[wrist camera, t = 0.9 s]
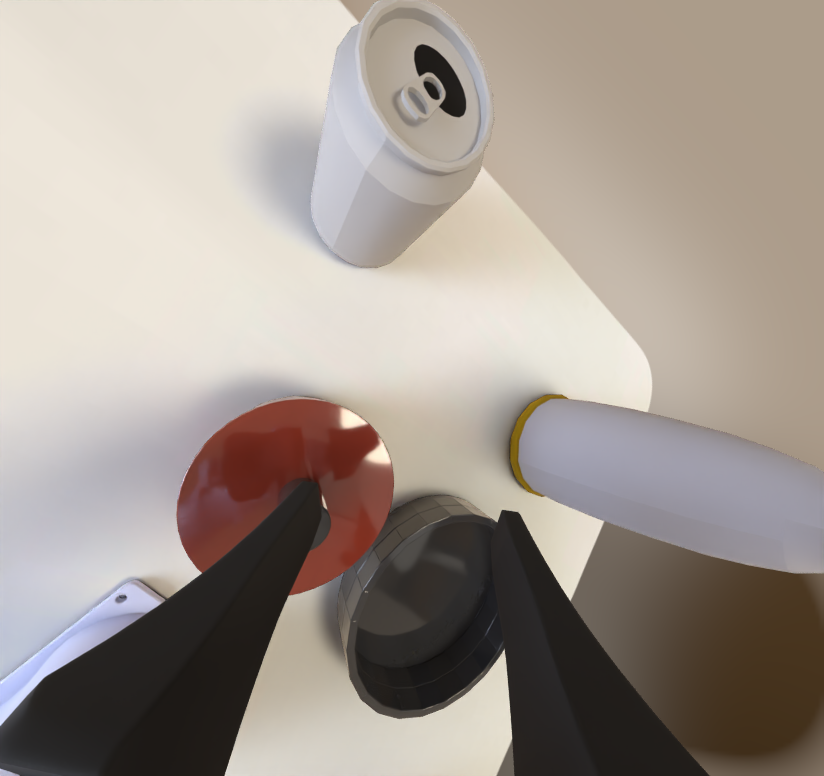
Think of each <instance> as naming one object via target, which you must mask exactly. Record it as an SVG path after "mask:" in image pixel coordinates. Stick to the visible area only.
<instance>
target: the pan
mask: <svg viewBox="0 0 824 776" xmlns="http://www.w3.org/2000/svg"><path fill="white" fill-rule="evenodd" d="M496 525H497V522H496V521H494V520H493V519H491V518H490V517H489V516H487V515H486V514H485V513H483V512H482V511H480V510H479V509H478V508H476V507H475V506H474V505H472V504H471V503H469V502H467V501H466V500H463V499H460V498H458V497H453V496H449V495H434V496H427V497H422V498H418V499H416V500H413V501H410V502H408V503H406V504H404V505H402V506H400V507H398V508H396V509H395V510H394V511H392V512H391V513H389V514H388V516H387V519H386V521H385V523H384V526H383V528H382V530H381V531H380V533H379V535H378V536H377V538H376V540H375V541H374V542H373V544H372V545H371V546H370V548H369V549H368V550H367V551H366V552H365V554H364V555H363V556H362V557H361V558H360V559H359V560H358V561H357V562H356V563H354V564H353V565H352V566H351V567H350V568H349V569H347V570H346V571H345V572H344V575H343V578H342V581H341V585H340V590H339V595H338V606H337V611H338V622H339V628H340V635H341V640H342V645H343V650H344V654H345V659H346V664H347V668H348V673H349V677H350V680H351V682H352V684H353V686H354V687H355V689H356V691H357V693H358V695H359V697H360V699H361V700H362V701H363V702H365V703H366V704H367V705H368V706H370V707H371V708H372V709H373V710H375V711H376V712H377V713H379V714H383V715H386V716H390V717H394V718H397V719H402V718H413V717H423V716H425V715H428V714H430V713H433V712H436V711H438V710H441V709H444V708H445V707H447V706H448V705H450V704H451V703H453V702H455V701H456V700H458V699H459V698H461V697H462V696H464V695H465V694H466V693H468V692H469V691H470V690H471V689H472V688H473V687H474V686H475V685H476V684H477V683H478V682H479V681H480V680H481V679H482V678H483V677H484V676H485V675H486V674H487V673H488V671H489V670H490V669H491V667H492V666H493V665H494V663H495V662H496V661H497V659H498V658H499V657H500V655H501V654H502V652H503V650H504V641H503V635H502V629H501V623H500V617H499V611H498V605H497V599H496V593H495V586H494V580H493V574H492V562H491V544H490V542H491V539H492V536H493V534H494V531H495V528H496Z"/></svg>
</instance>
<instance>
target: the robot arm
mask: <svg viewBox="0 0 824 776" xmlns="http://www.w3.org/2000/svg"><path fill="white" fill-rule="evenodd" d="M321 518H322V513H321V505H320V496H319V488H318V483H314V482H307V481H302V482H301V483H300V484H299V485H298V486H297V487H296V488H295V489H294V490H293V491H292V492H291V493H290V494H289V495H288V496H287V497H286V498H285V499H284V500H283V501H282V502H281V503H280V504H279V505H278V506H277V507H276V508H275V509H274V510H273V511H272V512H271V513H270V514H269V515H268V516H267V517H266V518H265V519H264V520H263V521H262V522H261V523H260V524H259V525H258V526H257V527H256V528H255V529H254V530H253V531H251V532H250V533H249V534H248V535H247V536H246V537H245V538H244V539H242V540H241V541H240V542H239V543H238V544H237V545H236V546H235V547H233V548H232V549H231V550H230V551H229V552H228V553H227V554H225V555H224V556H223V557H222V558H221V559H219V560H218V561H217V562H216V563H214V564H213V565H212V566H211V567H209V568H208V569H207V570H206V571H204V572H203V573H202V574H201V575H199V576H198V577H197V578H195V579H194V580H193V581H191V582H190V583H189V584H187V585H186V586H185V587H183V588H182V589H181V590H179V591H178V592H177V593H175V594H174V595H172V596H171V597H170V598H168V599H167V600H165V599H163V598H162V597H161V596H159V595H158V594H157V593H155V592H154V591H152V590H151V589H150V588H148V587H147V586H146V585H144V584H143V583H141V582H140V581H137V580H133V581H129V582H127V583H126V584H124V585H123V586H122V587H120V588H119V589H118V590H117V591H115V592H114V593H113V594H112V595H110V596H109V597H108V598H106V599H105V600H104V601H103V602H101V603H100V604H99V605H98V606H96V607H95V608H94V609H92V610H91V611H90V612H89V613H87V614H86V615H85V616H83V617H82V618H81V619H80V620H78V621H77V622H76V623H75V624H73V625H72V626H71V627H69V628H68V629H67V630H66V631H64V632H63V633H62V634H60V635H59V636H58V637H57V638H55V639H54V640H53V641H52V642H50V643H49V644H48V645H46V646H45V647H44V648H43V649H41V650H40V651H39V652H38V653H36V654H35V655H34V656H32V657H31V658H30V659H29V660H27V661H26V662H25V663H23V664H22V665H21V666H20V667H18V668H17V669H16V670H15V671H13V672H12V673H11V674H9V675H8V676H7V677H6V678H4V679H3V680H2V681H1V682H0V776H224V775H225V772H226V769H227V766H228V763H229V759H230V756H231V753H232V750H233V747H234V744H235V741H236V737H237V734H238V731H239V728H240V725H241V722H242V719H243V716H244V713H245V710H246V707H247V704H248V701H249V699H250V696H251V693H252V690H253V687H254V684H255V681H256V678H257V675H258V673H259V670H260V667H261V664H262V661H263V659H264V656H265V653H266V650H267V648H268V645H269V642H270V640H271V637H272V634H273V631H274V629H275V626H276V623H277V621H278V618H279V616H280V614H281V611H282V609H283V607H284V604H285V602H286V600H287V598H288V596H289V594H290V591H291V589H292V587H293V585H294V583H295V581H296V579H297V576H298V574H299V572H300V570H301V568H302V566H303V563H304V561H305V559H306V557H307V555H308V553H309V550H310V548H311V546H312V544H313V541H314V538H315V535H316V533H317V530H318V527H319V524H320V521H321ZM490 544H491V562H492V574H493V580H494V586H495V593H496V599H497V605H498V611H499V617H500V623H501V629H502V635H503V641H504V648H505V655H506V664H507V676H508V687H509V699H510V713H511V726H512V741H513V757H514V774H515V776H709V775H708V774H707V772H706V771H705V770H704V769H703V768H702V767H701V766H700V765H699V764H698V762H697V761H696V760H695V759H694V758H693V757H692V756H691V755H690V754H689V752H688V751H687V750H686V749H685V748H684V747H683V746H682V745H681V743H680V742H679V741H678V740H677V739H676V738H675V736H674V735H673V734H672V733H671V732H670V731H669V729H668V728H667V727H666V726H665V725H664V724H663V723H662V721H661V720H660V719H659V718H658V717H657V716H656V714H655V713H654V712H653V711H652V709H651V708H650V707H649V706H648V705H647V703H646V702H645V701H644V700H643V699H642V697H641V696H640V695H639V694H638V692H637V691H636V690H635V689H634V687H633V686H632V685H631V684H630V682H629V681H628V680H627V679H626V678H625V676H624V675H623V674H622V673H621V671H620V670H619V669H618V668H617V666H616V665H615V663H614V662H613V661H612V660H611V658H610V657H609V656H608V654H607V653H606V652H605V650H604V649H603V648H602V646H601V645H600V644H599V642H598V641H597V639H596V638H595V637H594V635H593V634H592V632H591V631H590V630H589V629H588V627H587V625H586V624H585V623H584V621H583V620H582V618H581V617H580V615H579V614H578V613H577V611H576V609H575V608H574V606H573V605H572V603H571V602H570V600H569V599H568V597H567V596H566V594H565V593H564V591H563V589H562V588H561V586H560V585H559V583H558V581H557V580H556V578H555V576H554V575H553V573H552V571H551V570H550V568H549V566H548V565H547V563H546V561H545V560H544V558H543V556H542V554H541V553H540V551H539V549H538V547H537V545H536V544H535V542H534V540H533V538H532V536H531V534H530V532H529V531H528V529H527V527H526V525H525V523H524V521H523V519H522V517H521V515H520V514H519V513H518V512H513V511H506V510H502V511H501V514H500V517H499V520H498V523H497V525H496V528H495V531H494V534H493V536H492V539H491V542H490ZM119 595H126V596H127V598H123V599H122V598H120V597H119Z"/></svg>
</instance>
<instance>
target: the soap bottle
mask: <svg viewBox="0 0 824 776" xmlns="http://www.w3.org/2000/svg"><path fill="white" fill-rule="evenodd" d="M510 461H511V465H512V468H513V472H514V475H515V477H516V478H517V480H518V481H519V482H520V483H521V484H522V486H523V487H524V488H525V489H526V490H527V491H528V492H530V493H532V494H535V495H538V496H541V497H544V496H546V497H548V498H550V499H552V500H554V501H556V502H558V503H561V504H563V505H566V506H568V507H570V508H573V509H575V510H578V511H580V512H583V513H585V514H588V515H590V516H592V517H595V518H597V519H600V520H603V521H606V522H609V523H612V524H615V525H617V526H620V527H623V528H626V529H629V530H632V531H634V532H637V533H640V534H643V535H646V536H649V537H651V538H655V539H658V540H661V541H664V542H667V543H670V544H673V545H677V546H680V547H683V548H686V549H689V550H693V551H696V552H699V553H702V554H705V555H708V556H712V557H717V558H721V559H725V560H730V561H733V562H738V563H742V564H746V565H750V566H756V567H762V568H768V569H774V570H779V571H785V572H792V573H824V472H823V471H821V470H820V469H818V468H817V467H815V466H813V465H811V464H808V463H806V462H803V461H801V460H799V459H796V458H794V457H792V456H789V455H787V454H784V453H782V452H779V451H777V450H775V449H772V448H770V447H767V446H764V445H761V444H758V443H755V442H752V441H749V440H746V439H743V438H741V437H738V436H735V435H732V434H729V433H725V432H721V431H718V430H714V429H710V428H706V427H702V426H699V425H695V424H692V423H687V422H684V421H680V420H676V419H672V418H668V417H664V416H660V415H655V414H651V413H647V412H643V411H638V410H634V409H629V408H623V407H618V406H612V405H607V404H601V403H596V402H590V401H581V400H572V399H568V398H567V397H565V396H563V395H545V396H543V397H541V398H539V399H537V400H536V401H534V402H532V403H530V404H529V405H528V407H527V408H526V409H525V410H524V412H523V413H522V414H521V415H520V417H519V418H518V420H517V423H516V425H515V428H514V431H513V434H512V436H511V444H510Z"/></svg>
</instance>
